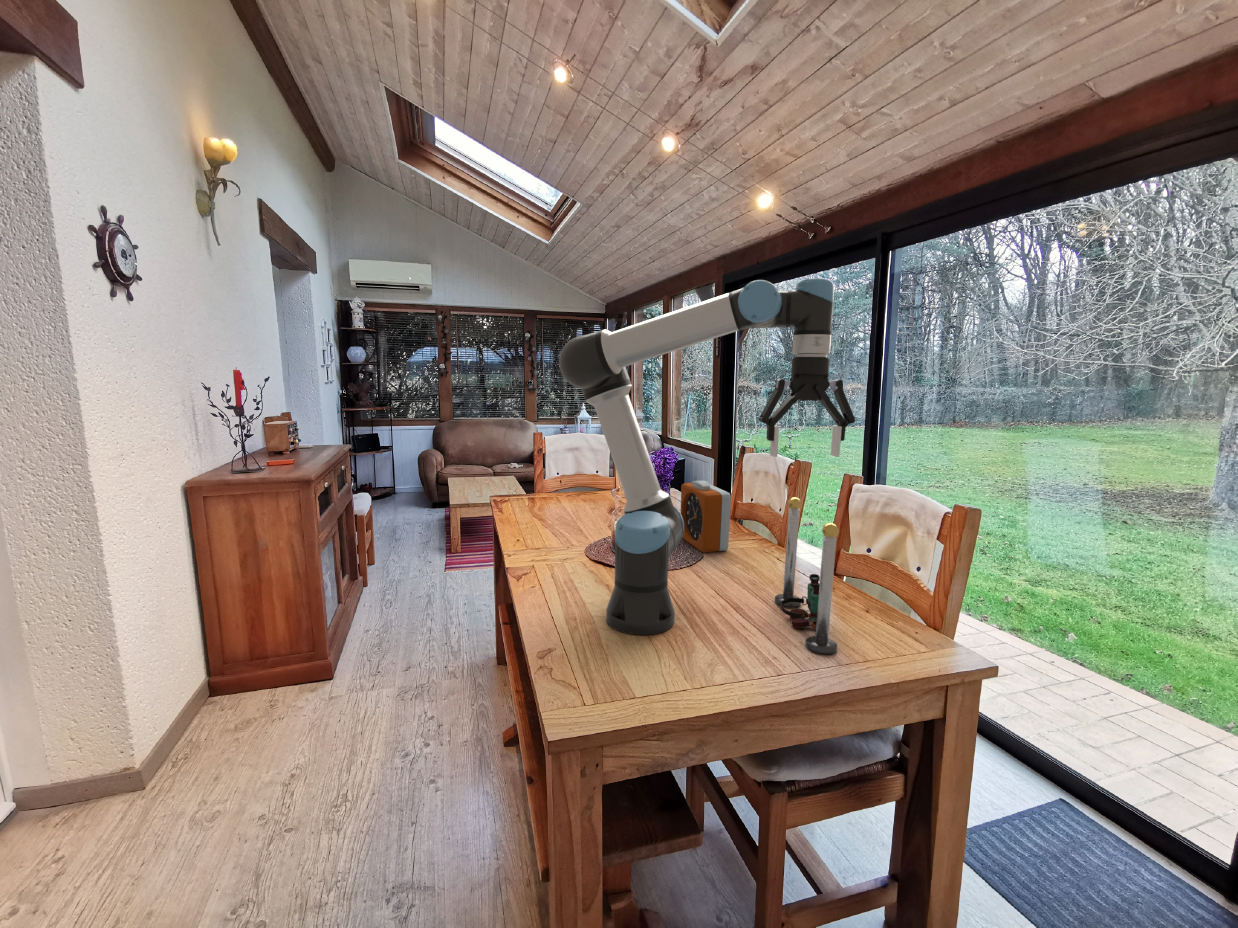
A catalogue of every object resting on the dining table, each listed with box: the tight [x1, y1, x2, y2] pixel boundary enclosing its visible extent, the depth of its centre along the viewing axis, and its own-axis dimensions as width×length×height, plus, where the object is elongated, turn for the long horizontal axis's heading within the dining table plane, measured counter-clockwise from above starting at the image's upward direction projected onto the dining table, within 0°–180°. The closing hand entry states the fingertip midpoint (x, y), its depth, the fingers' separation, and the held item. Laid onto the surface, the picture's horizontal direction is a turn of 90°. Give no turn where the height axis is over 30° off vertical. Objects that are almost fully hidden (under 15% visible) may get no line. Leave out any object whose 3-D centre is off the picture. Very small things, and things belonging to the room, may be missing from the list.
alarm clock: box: [679, 480, 732, 553], centre depth 178 cm, size 18×9×21 cm, turn 17°
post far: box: [774, 496, 802, 609], centre depth 133 cm, size 6×6×26 cm
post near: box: [804, 522, 840, 656], centre depth 112 cm, size 6×6×26 cm
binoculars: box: [780, 573, 820, 630], centre depth 124 cm, size 9×11×10 cm
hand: (804, 456), depth 122 cm, fingers open, 13 cm apart
